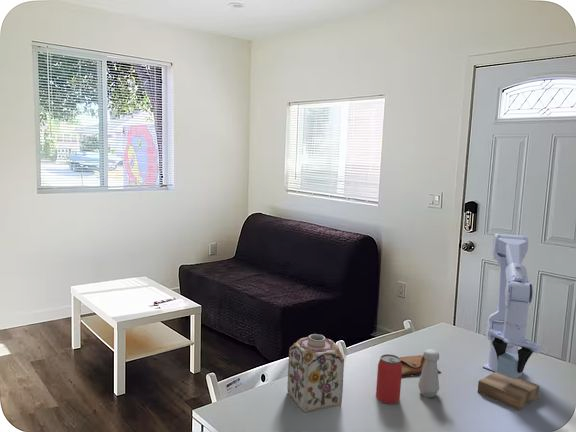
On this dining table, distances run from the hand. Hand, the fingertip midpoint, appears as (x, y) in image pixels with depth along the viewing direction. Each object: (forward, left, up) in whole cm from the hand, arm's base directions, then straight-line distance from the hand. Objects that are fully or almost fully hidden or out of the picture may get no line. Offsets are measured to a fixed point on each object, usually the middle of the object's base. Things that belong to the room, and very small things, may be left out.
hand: (510, 368), depth 139 cm
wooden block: (0, 0, -9) cm, 9 cm away
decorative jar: (+48, -31, -8) cm, 58 cm away
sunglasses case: (+10, -26, -9) cm, 30 cm away
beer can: (+31, -19, -8) cm, 37 cm away
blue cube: (0, 0, -2) cm, 2 cm away
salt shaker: (+19, -14, -8) cm, 25 cm away
